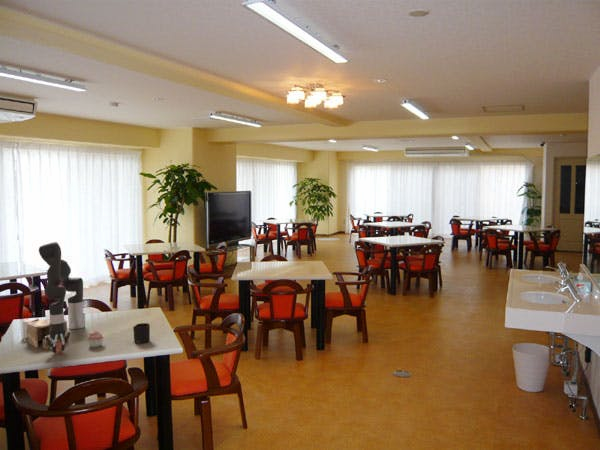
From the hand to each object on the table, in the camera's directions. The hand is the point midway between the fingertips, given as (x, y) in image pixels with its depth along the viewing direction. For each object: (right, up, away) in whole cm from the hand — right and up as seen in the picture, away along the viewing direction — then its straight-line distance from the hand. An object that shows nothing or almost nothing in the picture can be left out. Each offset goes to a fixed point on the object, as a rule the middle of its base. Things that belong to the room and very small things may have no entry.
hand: (58, 351), depth 295 cm
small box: (-32, +1, +33) cm, 47 cm away
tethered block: (-5, -1, +5) cm, 7 cm away
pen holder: (+41, +1, +20) cm, 46 cm away
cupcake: (+16, 0, +13) cm, 20 cm away
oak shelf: (-17, +1, +22) cm, 28 cm away
